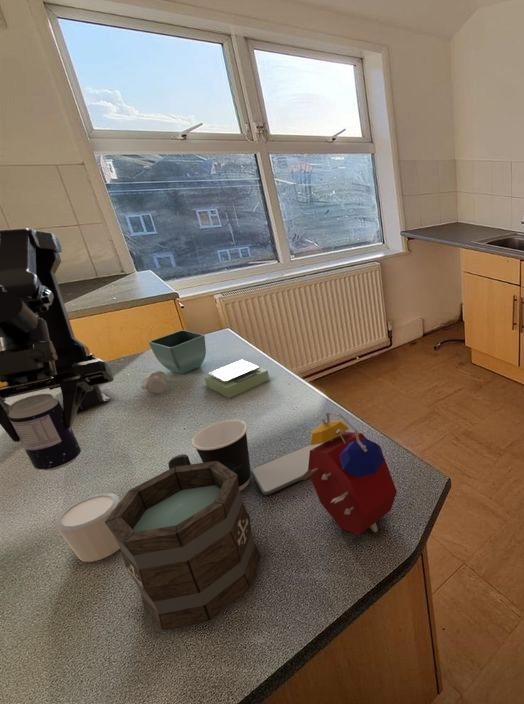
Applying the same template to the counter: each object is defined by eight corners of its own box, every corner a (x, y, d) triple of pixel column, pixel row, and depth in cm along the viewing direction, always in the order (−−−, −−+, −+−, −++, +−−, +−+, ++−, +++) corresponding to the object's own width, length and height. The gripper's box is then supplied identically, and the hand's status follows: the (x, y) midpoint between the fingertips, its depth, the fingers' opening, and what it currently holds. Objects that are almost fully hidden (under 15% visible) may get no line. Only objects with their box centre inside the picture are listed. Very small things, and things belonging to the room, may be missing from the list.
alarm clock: (401, 526, 69) (390, 422, 61) (354, 565, 62) (335, 454, 55) (347, 484, 77) (331, 388, 69) (300, 515, 70) (277, 412, 63)
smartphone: (349, 454, 83) (263, 494, 73) (349, 459, 83) (264, 498, 73) (330, 435, 88) (249, 469, 78) (331, 438, 88) (250, 473, 79)
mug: (268, 590, 58) (244, 506, 53) (141, 654, 51) (97, 564, 45) (248, 500, 73) (228, 427, 67) (147, 539, 66) (114, 461, 60)
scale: (206, 386, 106) (203, 375, 105) (246, 369, 114) (244, 359, 113) (229, 398, 102) (226, 387, 100) (269, 379, 110) (267, 369, 109)
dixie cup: (228, 507, 72) (212, 454, 67) (197, 492, 74) (180, 440, 70) (270, 476, 78) (257, 426, 74) (240, 463, 81) (226, 415, 77)
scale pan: (208, 375, 105) (207, 373, 105) (242, 361, 112) (242, 359, 112) (225, 383, 102) (225, 381, 102) (260, 368, 109) (259, 366, 108)
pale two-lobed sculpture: (148, 388, 107) (170, 377, 109) (148, 402, 101) (171, 390, 103) (136, 375, 105) (159, 364, 107) (135, 389, 99) (159, 376, 101)
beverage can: (90, 455, 74) (64, 396, 70) (49, 477, 69) (18, 415, 65) (69, 447, 76) (42, 389, 71) (27, 468, 71) (-5, 407, 66)
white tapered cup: (98, 570, 61) (80, 534, 58) (60, 560, 62) (40, 525, 59) (145, 530, 67) (131, 496, 64) (109, 523, 68) (94, 489, 66)
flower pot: (213, 364, 117) (205, 334, 113) (180, 379, 109) (170, 347, 106) (191, 358, 119) (182, 329, 116) (157, 373, 112) (147, 342, 108)
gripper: (-92, 344, 61) (-79, 447, 57) (86, 315, 72) (106, 400, 68) (-49, 370, 70) (-35, 462, 66) (104, 341, 81) (123, 418, 77)
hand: (43, 434), depth 69 cm, fingers closed on beverage can, 5 cm apart
